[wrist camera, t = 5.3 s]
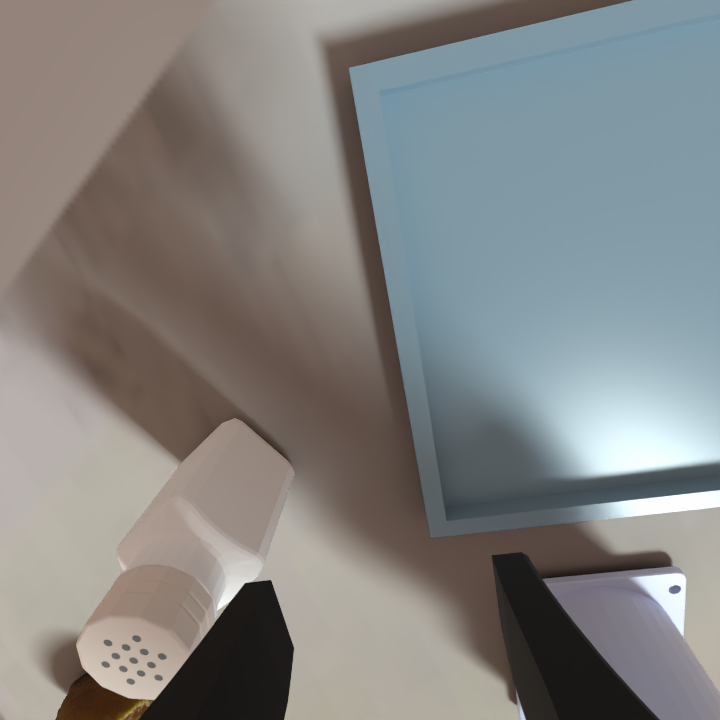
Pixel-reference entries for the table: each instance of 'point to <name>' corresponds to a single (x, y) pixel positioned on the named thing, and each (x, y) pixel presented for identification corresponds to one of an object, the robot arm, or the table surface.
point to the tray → (555, 263)
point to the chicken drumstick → (99, 703)
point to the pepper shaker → (186, 561)
